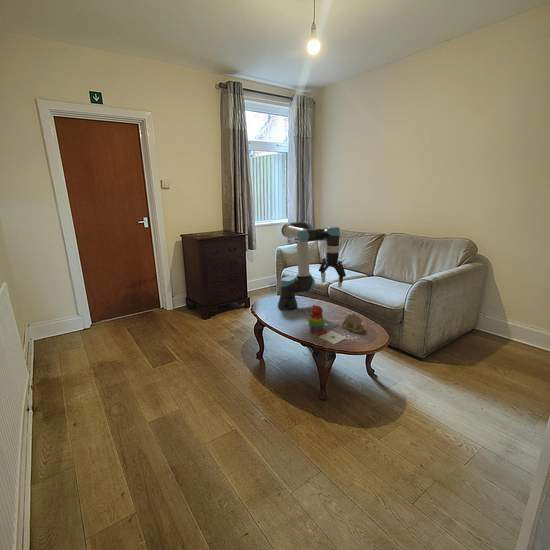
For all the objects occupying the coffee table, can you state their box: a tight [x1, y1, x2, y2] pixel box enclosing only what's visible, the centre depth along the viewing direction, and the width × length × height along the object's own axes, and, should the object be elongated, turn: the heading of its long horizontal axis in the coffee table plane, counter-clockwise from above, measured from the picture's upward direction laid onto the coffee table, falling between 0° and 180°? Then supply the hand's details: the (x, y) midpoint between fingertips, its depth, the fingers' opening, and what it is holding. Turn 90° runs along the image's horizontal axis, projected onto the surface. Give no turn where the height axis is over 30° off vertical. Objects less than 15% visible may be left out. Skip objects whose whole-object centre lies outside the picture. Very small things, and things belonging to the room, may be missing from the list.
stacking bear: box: [308, 304, 328, 336], centre depth 198 cm, size 11×10×18 cm
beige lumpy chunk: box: [341, 313, 364, 333], centre depth 205 cm, size 14×11×10 cm
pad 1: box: [323, 318, 339, 331], centre depth 211 cm, size 12×12×1 cm
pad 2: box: [318, 330, 348, 345], centre depth 193 cm, size 12×12×1 cm
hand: (331, 284), depth 199 cm, fingers open, 13 cm apart
